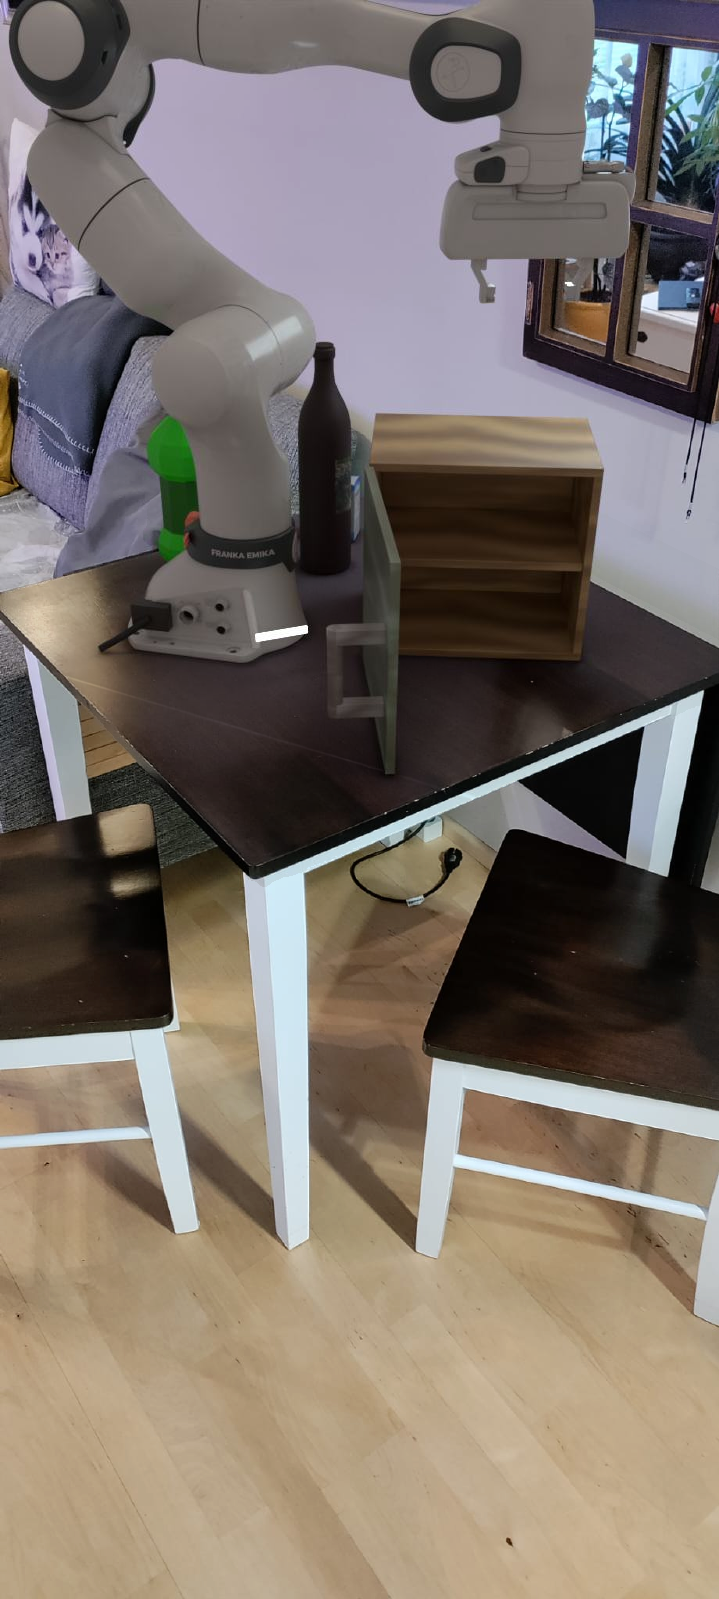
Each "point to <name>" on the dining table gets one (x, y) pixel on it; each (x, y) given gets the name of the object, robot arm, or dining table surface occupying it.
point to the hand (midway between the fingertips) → (528, 301)
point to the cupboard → (490, 531)
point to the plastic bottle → (173, 483)
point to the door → (372, 629)
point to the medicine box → (355, 506)
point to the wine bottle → (324, 471)
